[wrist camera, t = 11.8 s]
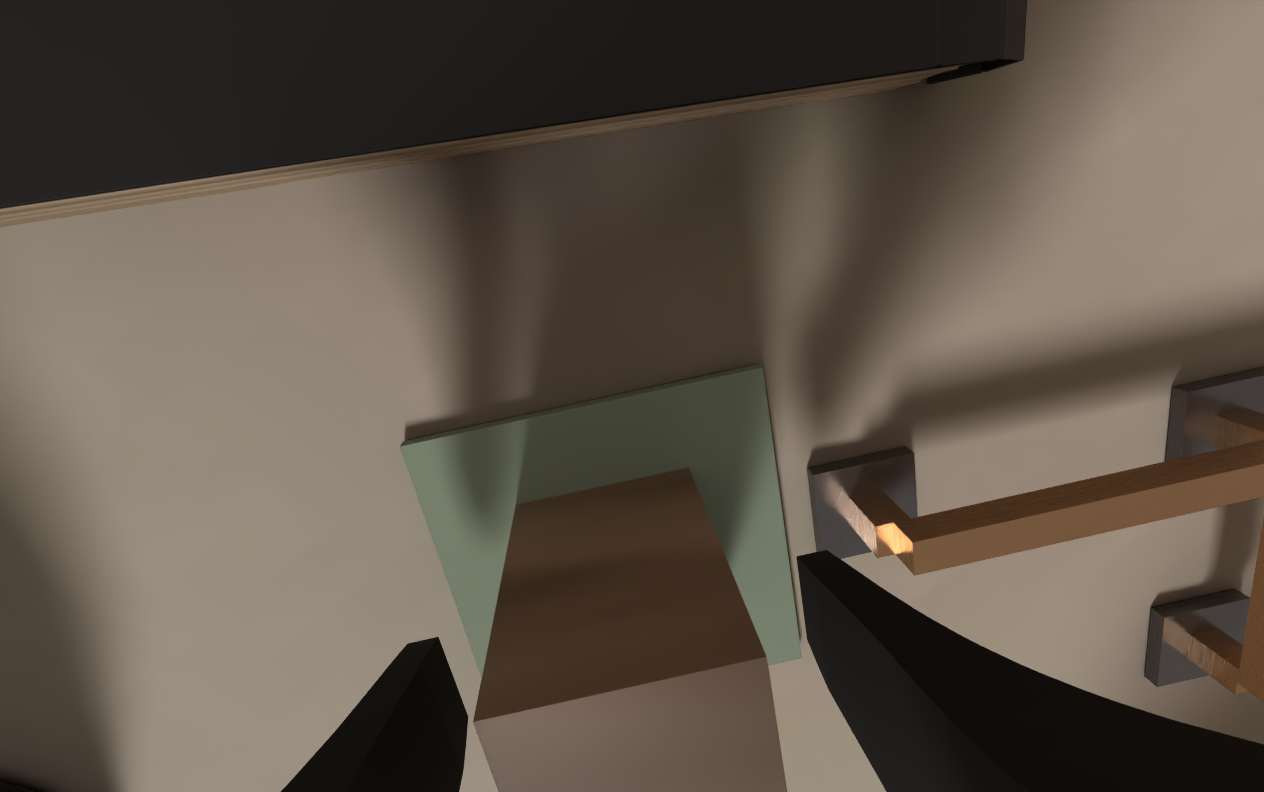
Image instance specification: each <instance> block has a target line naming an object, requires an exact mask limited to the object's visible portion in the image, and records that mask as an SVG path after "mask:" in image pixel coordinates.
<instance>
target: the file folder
mask: <svg viewBox="0 0 1264 792" xmlns="http://www.w3.org/2000/svg"><path fill="white" fill-rule="evenodd" d="M1026 9H1027V0H0V227H3V226H9V225H16V224H22V223H29V222H36V221H42V220H49V219H55V218H62V217H68V216H75V215H81V214H88V213H95V212H101V211H108V210H114V209H121V208H127V207H134V206H140V205H147V204H154V203H160V202H167V201H173V200H180V199H186V198H193V197H199V196H206V195H213V194H219V193H226V192H232V191H239V190H245V189H252V188H258V187H265V186H272V185H277V184H282V183H287V182H292V181H297V180H303V179H310V178H316V177H323V176H329V175H336V174H343V173H349V172H356V171H362V170H369V169H375V168H382V167H389V166H395V165H402V164H408V163H415V162H421V161H428V160H434V159H441V158H448V157H454V156H461V155H467V154H474V153H480V152H487V151H493V150H500V149H506V148H513V147H520V146H526V145H533V144H539V143H546V142H552V141H559V140H565V139H572V138H578V137H585V136H591V135H598V134H604V133H611V132H617V131H624V130H631V129H637V128H644V127H650V126H657V125H663V124H670V123H676V122H683V121H689V120H696V119H702V118H709V117H715V116H722V115H728V114H735V113H741V112H748V111H754V110H761V109H767V108H774V107H780V106H787V105H793V104H799V103H806V102H812V101H819V100H832V99H838V98H845V97H851V96H858V95H864V94H871V93H877V92H883V91H890V90H895V89H898V88H901V87H904V86H906V85H911V84H916V83H919V82H921V79H924V78H927V84H933V83H938V82H942V81H947V80H952V79H956V78H961V77H965V76H970V75H974V74H979V73H982V72H983V71H984V72H987V71H990V70H993V69H997V68H1000V67H1003V66H1006V65H1009V64H1012V63H1016V62H1019V61H1022V60H1024V47H1025V28H1026Z"/></svg>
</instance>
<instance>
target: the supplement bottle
mask: <svg viewBox="0 0 1264 792" xmlns="http://www.w3.org/2000/svg"><path fill="white" fill-rule="evenodd" d="M0 792H34V791H32V790H29V789H26V788H23V787H20V786H16V785H12V784H8V783H4V782H0Z"/></svg>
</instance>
